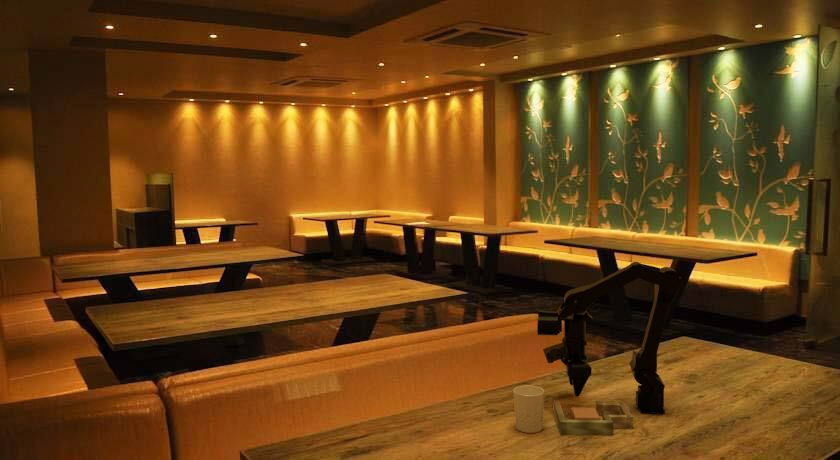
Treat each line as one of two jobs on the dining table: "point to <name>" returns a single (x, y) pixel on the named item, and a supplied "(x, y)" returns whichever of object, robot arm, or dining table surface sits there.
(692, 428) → the dining table surface
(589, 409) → the block
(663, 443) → the dining table surface
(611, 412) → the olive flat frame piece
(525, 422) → the white cup
